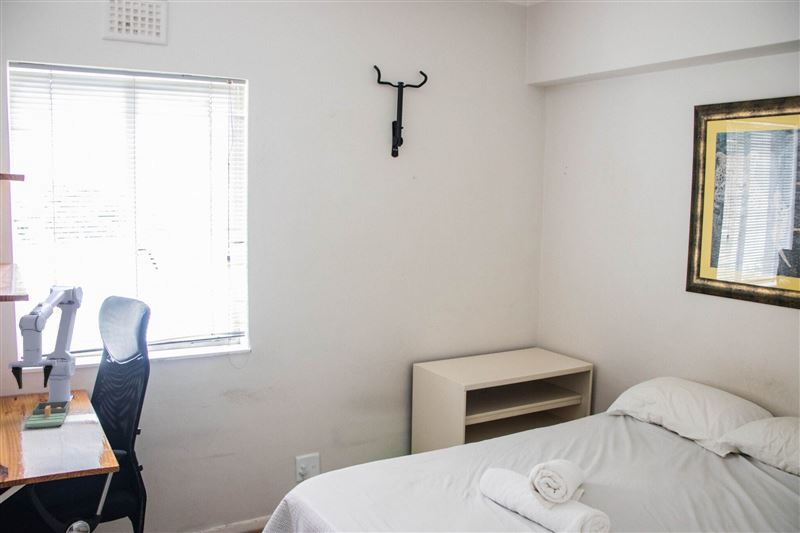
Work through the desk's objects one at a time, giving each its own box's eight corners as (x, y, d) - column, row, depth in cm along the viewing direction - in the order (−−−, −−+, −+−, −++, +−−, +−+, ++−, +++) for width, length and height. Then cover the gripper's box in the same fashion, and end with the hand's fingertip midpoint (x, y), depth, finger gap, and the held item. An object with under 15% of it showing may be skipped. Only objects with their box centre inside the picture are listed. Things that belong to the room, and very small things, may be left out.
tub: (38, 411, 233) (38, 402, 232) (69, 409, 236) (69, 400, 236) (32, 419, 223) (32, 410, 223) (65, 417, 227) (65, 408, 226)
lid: (31, 420, 222) (31, 406, 222) (66, 418, 226) (65, 404, 226) (25, 429, 213) (25, 414, 212) (61, 426, 216) (61, 412, 216)
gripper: (6, 352, 222) (6, 391, 223) (54, 350, 227) (54, 389, 227) (10, 348, 228) (11, 386, 229) (57, 346, 233) (57, 384, 234)
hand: (33, 387), depth 229 cm, fingers open, 7 cm apart
